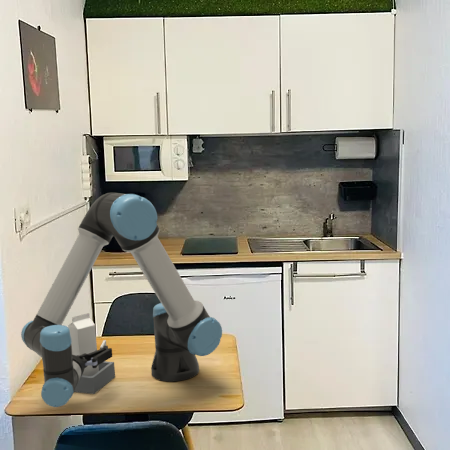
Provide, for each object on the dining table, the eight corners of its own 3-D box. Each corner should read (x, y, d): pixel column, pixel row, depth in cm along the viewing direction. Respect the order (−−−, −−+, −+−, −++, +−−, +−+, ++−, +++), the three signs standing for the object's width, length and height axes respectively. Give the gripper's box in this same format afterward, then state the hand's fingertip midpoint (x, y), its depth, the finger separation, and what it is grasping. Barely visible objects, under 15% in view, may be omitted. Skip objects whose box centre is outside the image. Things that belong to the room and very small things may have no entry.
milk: (99, 383, 193) (94, 314, 189) (82, 389, 189) (77, 319, 185) (89, 378, 197) (84, 310, 194) (72, 383, 193) (67, 315, 190)
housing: (115, 377, 197) (114, 362, 196) (94, 394, 185) (92, 378, 184) (79, 373, 201) (78, 359, 200) (56, 390, 189) (55, 374, 188)
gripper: (23, 387, 171) (43, 359, 192) (114, 382, 172) (124, 354, 193) (21, 361, 170) (41, 336, 191) (112, 356, 171) (122, 331, 192)
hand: (82, 345), depth 192 cm, fingers open, 13 cm apart
